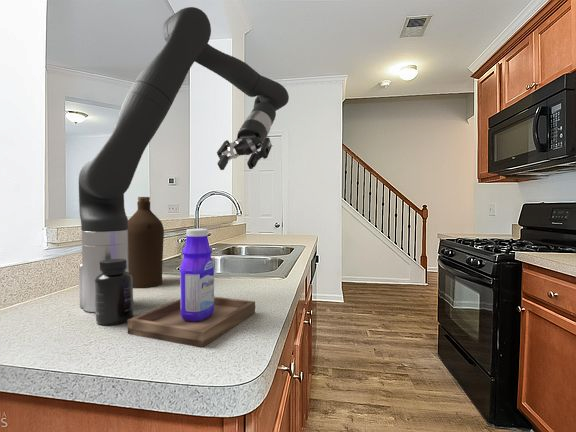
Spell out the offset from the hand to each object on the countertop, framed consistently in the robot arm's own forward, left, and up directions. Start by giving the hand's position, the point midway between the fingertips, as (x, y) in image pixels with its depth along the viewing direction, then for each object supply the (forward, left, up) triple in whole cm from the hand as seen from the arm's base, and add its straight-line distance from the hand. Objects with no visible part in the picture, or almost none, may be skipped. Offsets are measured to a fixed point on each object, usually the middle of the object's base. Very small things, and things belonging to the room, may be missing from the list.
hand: (234, 167), depth 89 cm
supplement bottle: (-12, -27, -33) cm, 44 cm away
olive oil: (-29, -1, -33) cm, 44 cm away
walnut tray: (+4, -22, -33) cm, 39 cm away
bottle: (+4, -22, -32) cm, 39 cm away
